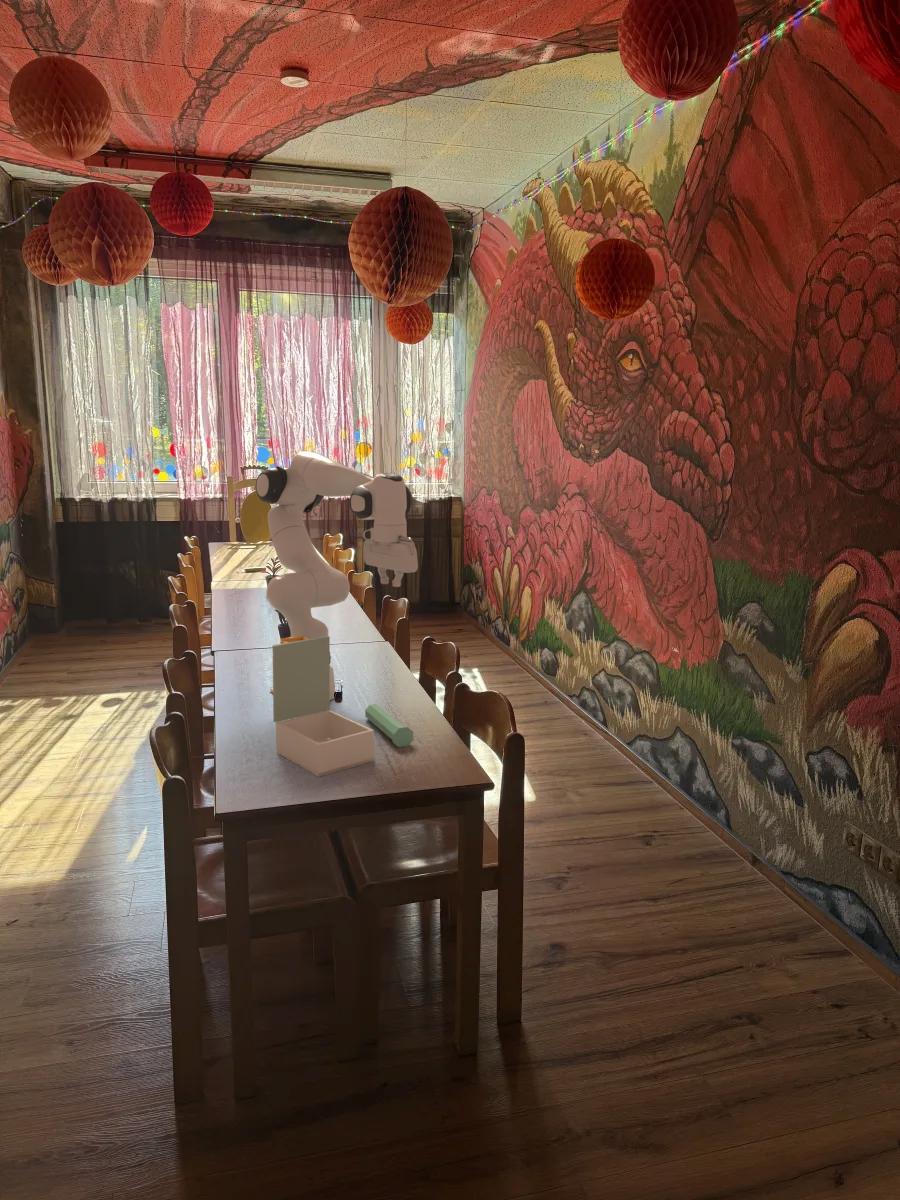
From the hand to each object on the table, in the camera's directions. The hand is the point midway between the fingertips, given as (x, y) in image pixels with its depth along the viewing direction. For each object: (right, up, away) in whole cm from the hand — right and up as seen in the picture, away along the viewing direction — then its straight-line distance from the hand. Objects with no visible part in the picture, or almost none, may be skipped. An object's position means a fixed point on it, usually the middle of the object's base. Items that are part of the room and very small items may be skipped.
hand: (390, 585), depth 234 cm
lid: (-21, -24, -14) cm, 35 cm away
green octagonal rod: (-1, -40, +1) cm, 40 cm away
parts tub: (-15, -43, -18) cm, 49 cm away
